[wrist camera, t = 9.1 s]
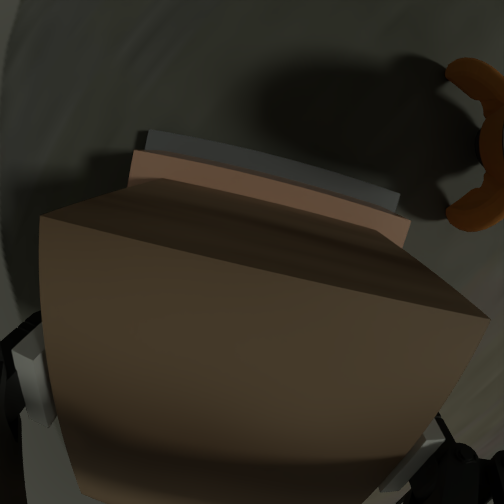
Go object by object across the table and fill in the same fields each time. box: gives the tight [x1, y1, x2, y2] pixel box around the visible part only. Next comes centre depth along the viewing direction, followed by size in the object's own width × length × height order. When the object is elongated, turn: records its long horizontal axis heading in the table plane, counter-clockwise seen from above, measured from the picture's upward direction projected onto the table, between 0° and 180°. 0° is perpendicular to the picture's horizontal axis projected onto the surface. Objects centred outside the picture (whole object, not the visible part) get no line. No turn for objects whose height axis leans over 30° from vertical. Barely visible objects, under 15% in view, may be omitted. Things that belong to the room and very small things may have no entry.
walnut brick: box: [39, 178, 491, 504], centre depth 10 cm, size 10×9×8 cm
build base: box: [127, 129, 411, 248], centre depth 17 cm, size 14×14×5 cm
